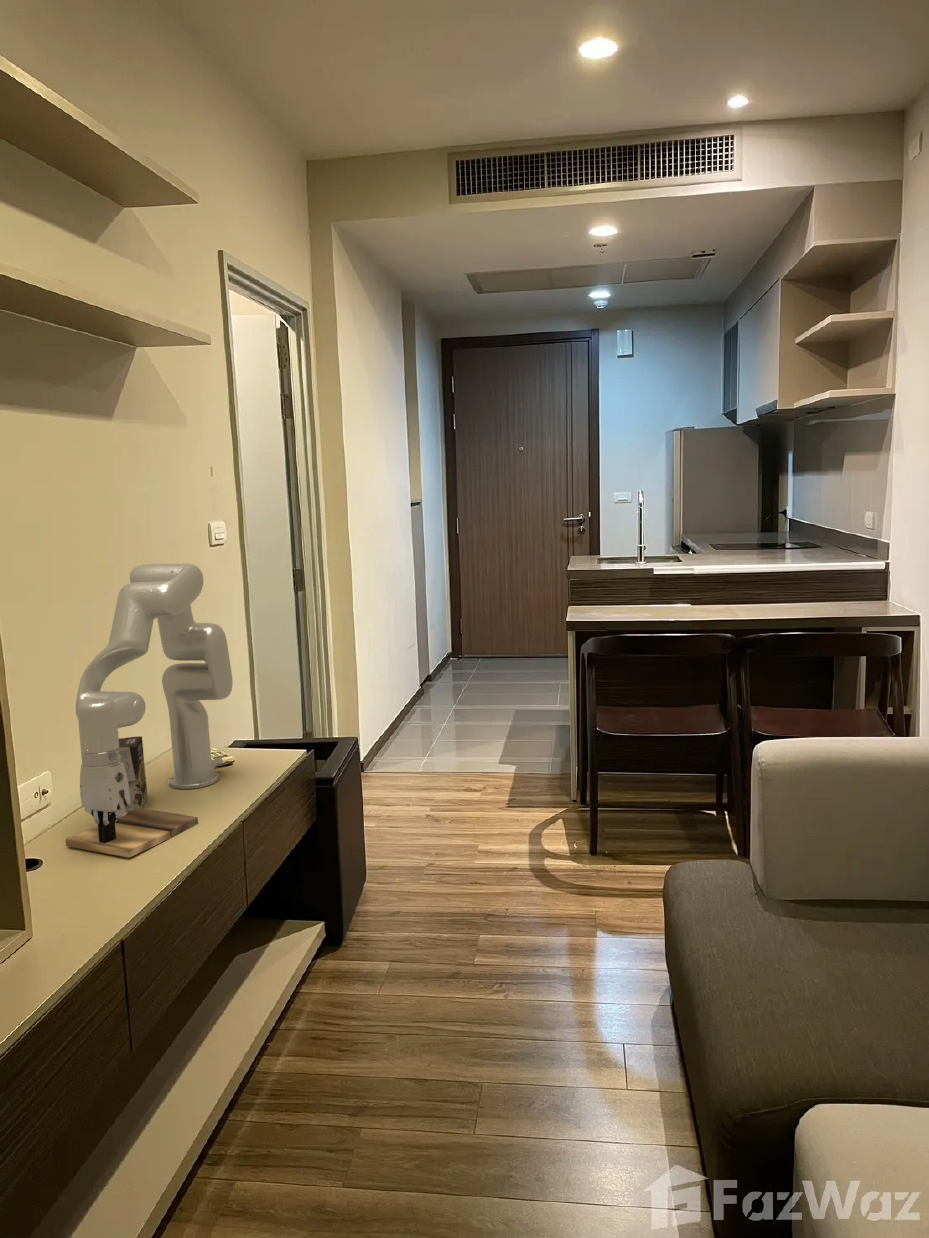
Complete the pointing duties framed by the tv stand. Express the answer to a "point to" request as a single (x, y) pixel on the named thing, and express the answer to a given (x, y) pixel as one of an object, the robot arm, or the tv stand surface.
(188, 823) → the walnut board
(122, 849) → the oak plank
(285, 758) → the tv stand surface
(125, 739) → the coffee box
